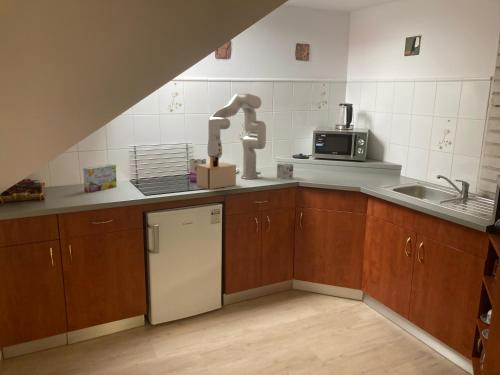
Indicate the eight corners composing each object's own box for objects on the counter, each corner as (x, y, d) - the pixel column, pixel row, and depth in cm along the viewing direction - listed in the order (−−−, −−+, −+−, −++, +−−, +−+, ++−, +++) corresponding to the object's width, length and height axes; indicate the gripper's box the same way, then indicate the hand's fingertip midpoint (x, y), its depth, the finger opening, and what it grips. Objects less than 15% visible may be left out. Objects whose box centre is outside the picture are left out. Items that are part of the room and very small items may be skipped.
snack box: (90, 193, 260) (88, 168, 257) (84, 191, 263) (82, 167, 260) (117, 187, 277) (116, 164, 274) (111, 185, 280) (110, 163, 277)
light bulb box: (293, 178, 316) (293, 164, 314) (289, 179, 311) (289, 165, 309) (280, 176, 322) (281, 162, 320) (276, 177, 317) (276, 163, 314)
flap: (235, 184, 288) (235, 154, 284) (236, 185, 287) (236, 155, 283) (209, 188, 274) (209, 157, 270) (211, 189, 273) (210, 157, 269)
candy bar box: (206, 181, 298) (206, 158, 295) (202, 183, 294) (202, 159, 290) (193, 180, 303) (193, 157, 300) (189, 181, 299) (189, 158, 295)
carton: (223, 181, 300) (223, 162, 297) (235, 185, 289) (235, 164, 286) (196, 185, 287) (196, 164, 283) (207, 188, 276) (207, 167, 273)
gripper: (226, 138, 266) (226, 167, 270) (211, 136, 277) (211, 164, 281) (217, 139, 261) (217, 168, 265) (202, 137, 272) (202, 165, 276)
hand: (214, 166), depth 273 cm, fingers closed
